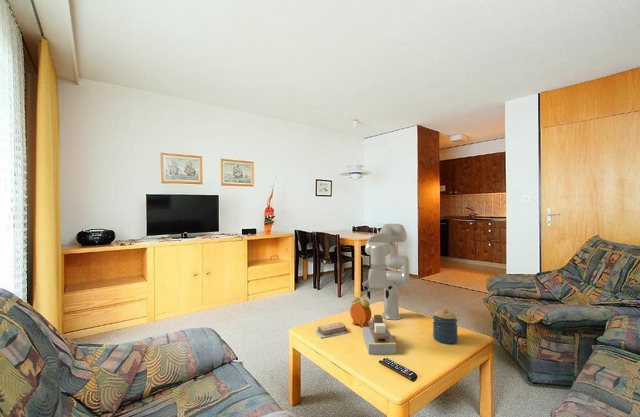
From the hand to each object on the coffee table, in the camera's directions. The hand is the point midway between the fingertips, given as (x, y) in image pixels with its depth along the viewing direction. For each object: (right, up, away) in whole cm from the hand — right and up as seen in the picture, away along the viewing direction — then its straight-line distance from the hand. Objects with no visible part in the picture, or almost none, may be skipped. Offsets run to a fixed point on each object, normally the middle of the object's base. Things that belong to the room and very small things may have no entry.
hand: (377, 297), depth 162 cm
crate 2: (0, -17, -4) cm, 17 cm away
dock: (0, -25, 0) cm, 25 cm away
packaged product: (-25, -26, +15) cm, 40 cm away
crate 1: (0, -17, +4) cm, 18 cm away
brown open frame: (0, -20, 0) cm, 20 cm away
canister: (+39, -25, +5) cm, 47 cm away
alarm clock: (-6, -26, +26) cm, 37 cm away
